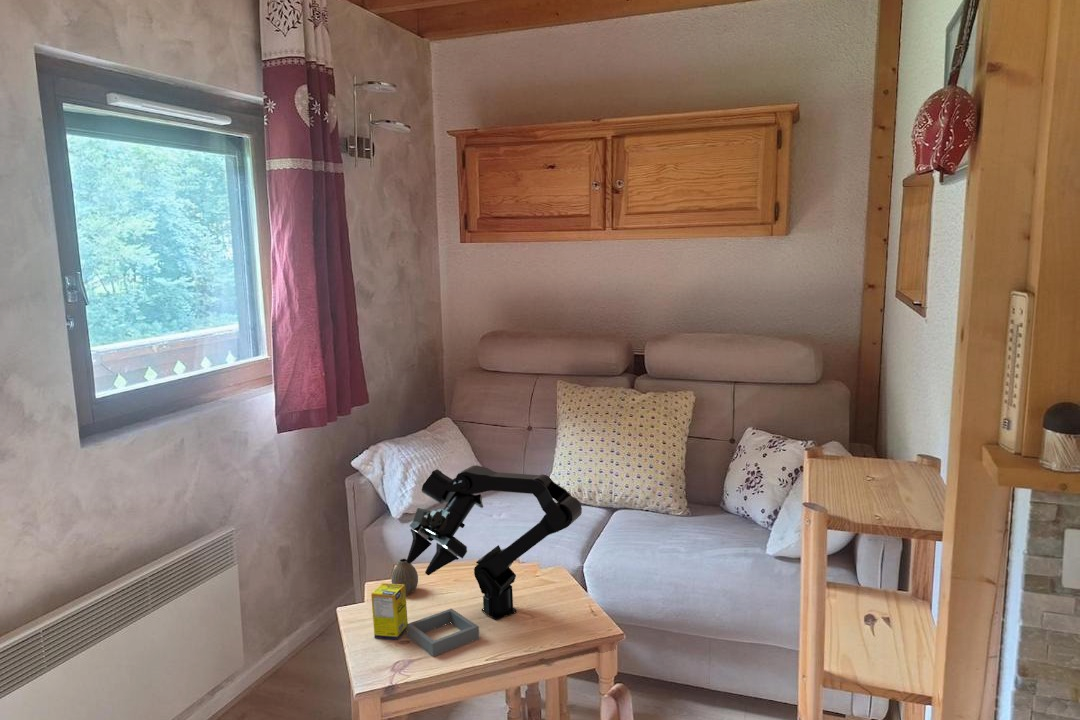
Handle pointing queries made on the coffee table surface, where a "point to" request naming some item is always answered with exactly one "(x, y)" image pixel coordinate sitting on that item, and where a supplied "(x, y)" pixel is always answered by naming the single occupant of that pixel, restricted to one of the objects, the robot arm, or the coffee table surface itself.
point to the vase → (405, 576)
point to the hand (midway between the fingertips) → (417, 568)
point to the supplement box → (389, 611)
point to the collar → (448, 642)
